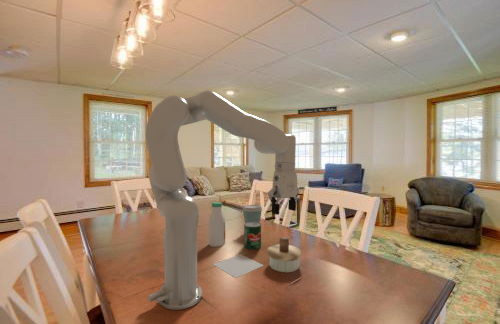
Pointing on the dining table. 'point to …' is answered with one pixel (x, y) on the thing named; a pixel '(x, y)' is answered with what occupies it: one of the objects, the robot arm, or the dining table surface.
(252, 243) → the canned tomato
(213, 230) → the milk bottle
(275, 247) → the lid
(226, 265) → the mat
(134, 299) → the dining table surface
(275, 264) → the bowl
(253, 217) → the disposable coffee cup
